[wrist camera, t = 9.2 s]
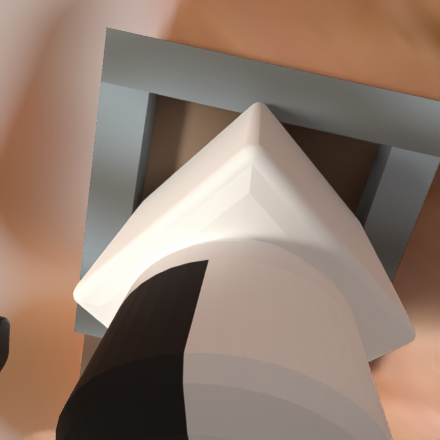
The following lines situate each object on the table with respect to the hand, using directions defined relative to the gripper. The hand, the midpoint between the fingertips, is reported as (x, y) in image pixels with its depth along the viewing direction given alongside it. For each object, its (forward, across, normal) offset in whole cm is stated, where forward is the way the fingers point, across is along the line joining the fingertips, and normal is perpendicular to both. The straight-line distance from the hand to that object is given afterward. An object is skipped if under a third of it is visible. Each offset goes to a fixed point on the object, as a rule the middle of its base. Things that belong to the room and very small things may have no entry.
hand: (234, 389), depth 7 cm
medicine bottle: (+10, 0, -1) cm, 10 cm away
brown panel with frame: (+12, 0, +3) cm, 12 cm away
